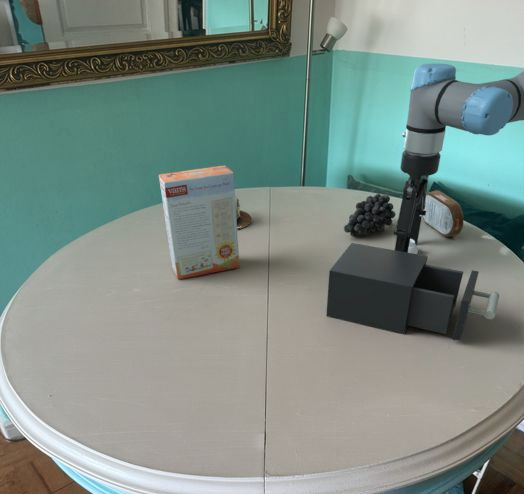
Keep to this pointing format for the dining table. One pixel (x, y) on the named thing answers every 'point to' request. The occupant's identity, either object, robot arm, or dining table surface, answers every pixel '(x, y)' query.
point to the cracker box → (200, 220)
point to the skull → (241, 215)
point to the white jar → (412, 247)
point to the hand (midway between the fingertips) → (405, 252)
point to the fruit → (370, 215)
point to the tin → (443, 214)
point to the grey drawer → (445, 300)
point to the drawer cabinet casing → (373, 286)
